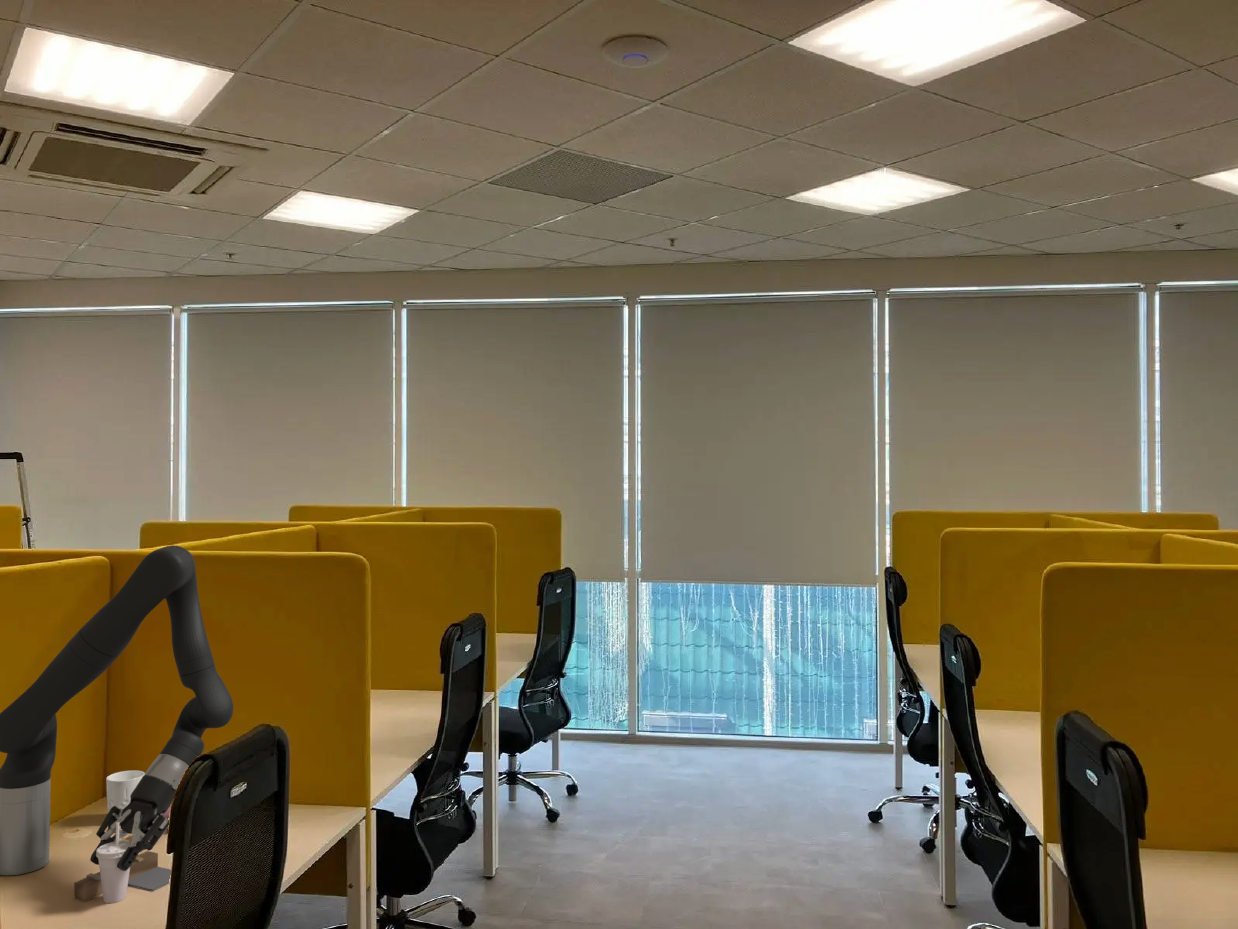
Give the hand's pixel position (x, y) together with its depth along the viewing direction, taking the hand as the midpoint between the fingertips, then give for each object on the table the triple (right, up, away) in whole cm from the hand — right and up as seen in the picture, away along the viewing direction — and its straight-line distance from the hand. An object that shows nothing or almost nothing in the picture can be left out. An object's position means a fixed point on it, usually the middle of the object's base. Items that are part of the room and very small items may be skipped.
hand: (107, 865), depth 169 cm
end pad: (+4, -7, +10) cm, 13 cm away
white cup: (-20, -8, +42) cm, 47 cm away
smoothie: (+1, -7, +1) cm, 7 cm away
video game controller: (-5, -8, +32) cm, 34 cm away
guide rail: (-3, -7, +8) cm, 11 cm away
